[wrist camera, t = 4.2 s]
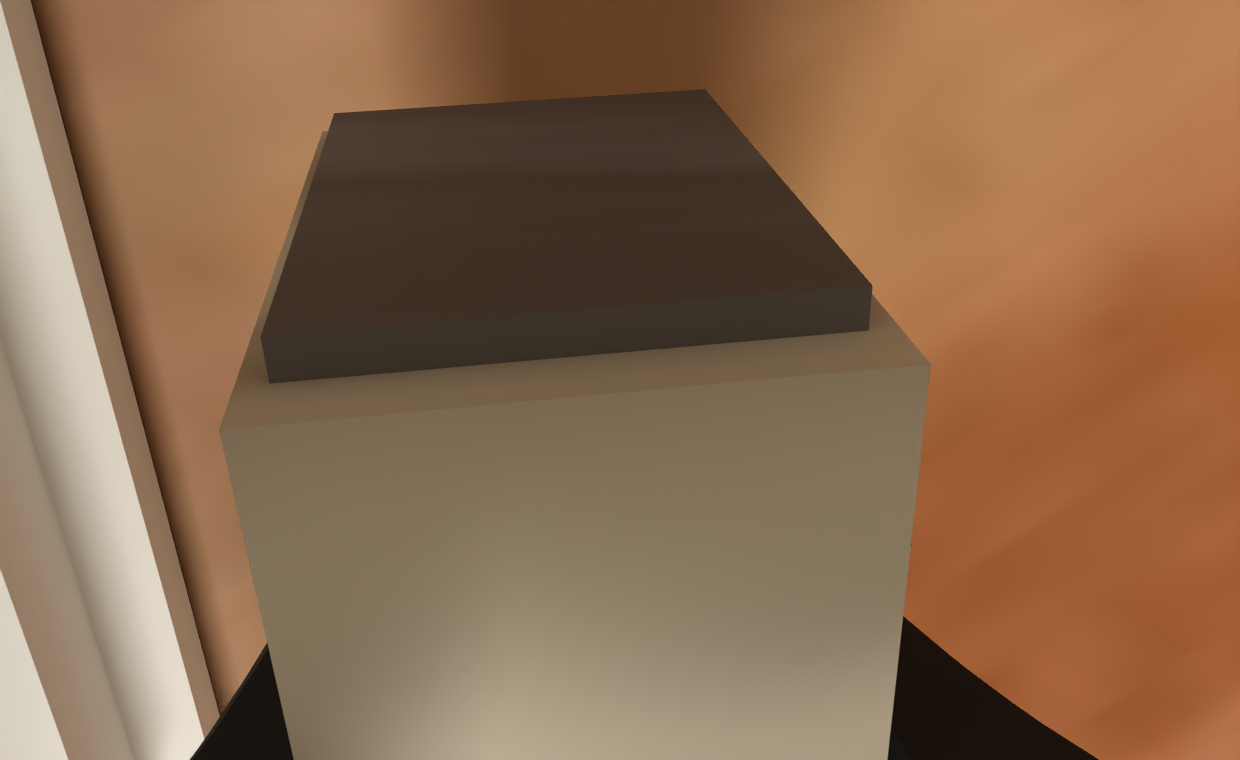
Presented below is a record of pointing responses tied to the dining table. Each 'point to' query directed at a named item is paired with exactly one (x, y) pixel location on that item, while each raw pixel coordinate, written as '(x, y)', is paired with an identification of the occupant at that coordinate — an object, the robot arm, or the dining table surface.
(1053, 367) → the dining table surface
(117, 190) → the dining table surface
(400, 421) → the beige and brown block
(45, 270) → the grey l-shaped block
